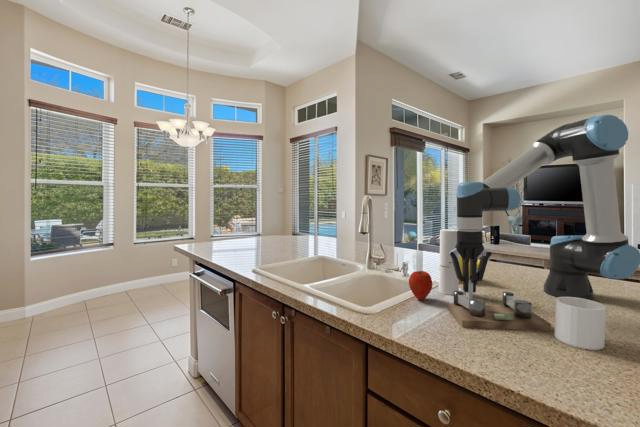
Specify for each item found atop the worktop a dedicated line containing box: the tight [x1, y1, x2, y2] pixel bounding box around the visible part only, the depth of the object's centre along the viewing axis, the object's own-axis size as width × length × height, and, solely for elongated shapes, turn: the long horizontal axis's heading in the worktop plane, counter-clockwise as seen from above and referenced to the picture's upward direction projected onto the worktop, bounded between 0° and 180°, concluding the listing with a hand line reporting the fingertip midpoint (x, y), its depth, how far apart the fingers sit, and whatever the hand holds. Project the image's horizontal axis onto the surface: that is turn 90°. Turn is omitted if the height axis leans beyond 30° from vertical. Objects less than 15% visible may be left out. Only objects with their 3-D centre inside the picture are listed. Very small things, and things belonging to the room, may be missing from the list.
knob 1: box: [453, 290, 487, 317], centre depth 97 cm, size 13×4×4 cm, turn 11°
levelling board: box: [447, 303, 552, 332], centre depth 95 cm, size 24×14×4 cm, turn 83°
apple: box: [408, 270, 433, 301], centre depth 114 cm, size 9×8×11 cm
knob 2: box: [502, 291, 533, 318], centre depth 96 cm, size 13×4×4 cm, turn 173°
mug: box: [554, 296, 607, 351], centre depth 81 cm, size 13×10×10 cm
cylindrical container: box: [438, 228, 460, 296], centre depth 122 cm, size 7×7×25 cm
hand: (469, 301), depth 100 cm, fingers closed
